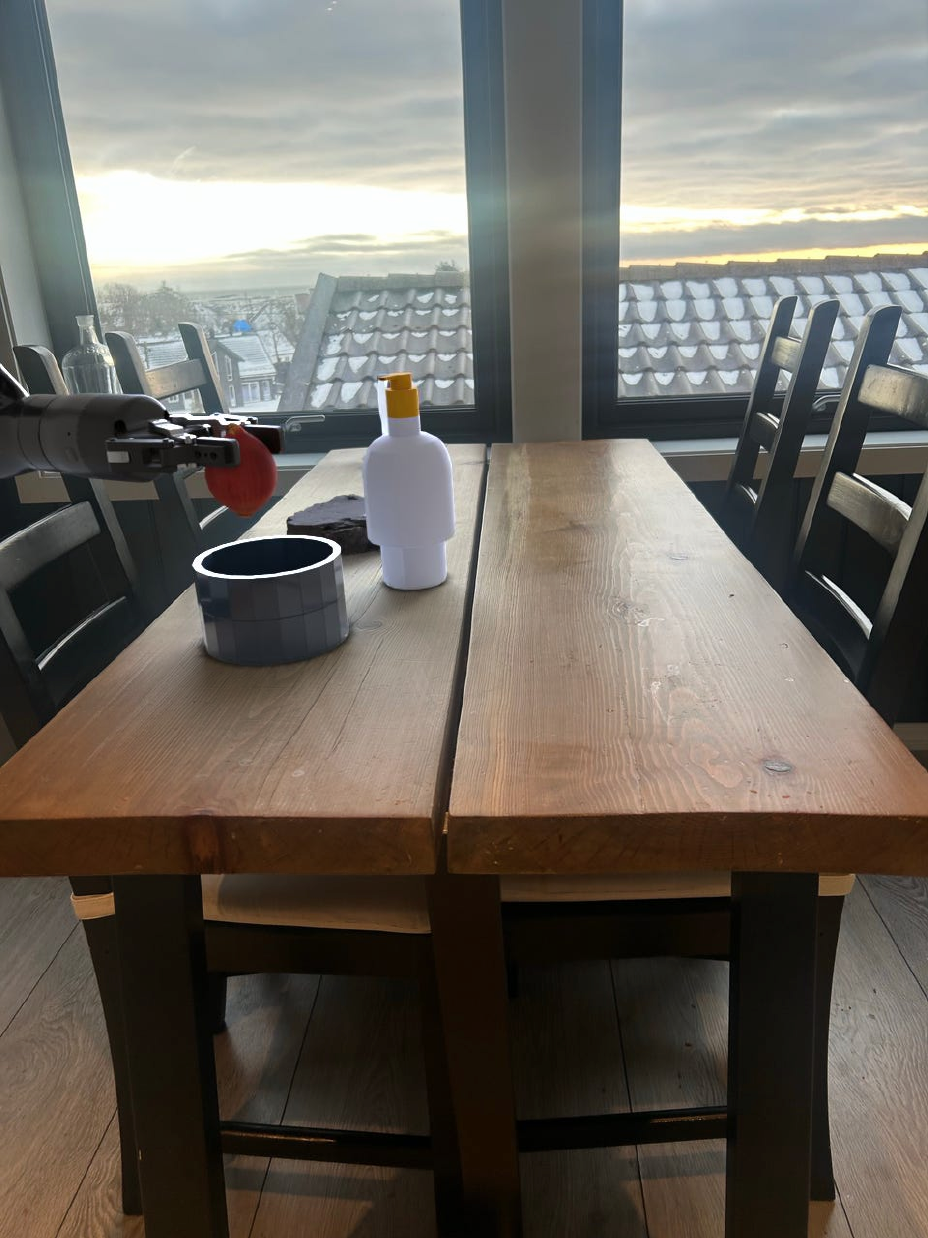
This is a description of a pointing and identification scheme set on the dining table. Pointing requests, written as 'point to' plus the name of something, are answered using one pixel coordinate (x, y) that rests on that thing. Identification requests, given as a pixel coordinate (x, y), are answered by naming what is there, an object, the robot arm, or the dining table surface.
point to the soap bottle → (408, 493)
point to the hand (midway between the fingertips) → (259, 446)
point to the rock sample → (335, 523)
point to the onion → (244, 475)
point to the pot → (271, 599)
